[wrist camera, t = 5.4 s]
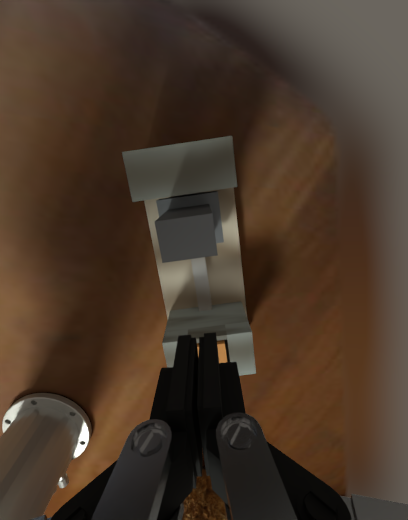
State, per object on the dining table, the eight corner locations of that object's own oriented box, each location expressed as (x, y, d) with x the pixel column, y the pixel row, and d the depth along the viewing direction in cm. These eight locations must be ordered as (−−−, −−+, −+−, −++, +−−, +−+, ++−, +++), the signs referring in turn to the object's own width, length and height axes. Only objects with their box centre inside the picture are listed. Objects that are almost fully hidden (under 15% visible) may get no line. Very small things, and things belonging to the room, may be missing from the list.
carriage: (221, 235, 30) (233, 266, 19) (169, 242, 31) (151, 277, 19) (215, 190, 29) (225, 196, 18) (161, 198, 29) (136, 209, 18)
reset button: (226, 358, 30) (228, 371, 28) (196, 362, 30) (196, 375, 28) (223, 331, 29) (224, 343, 27) (191, 335, 29) (191, 347, 27)
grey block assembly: (247, 329, 36) (260, 373, 28) (174, 338, 36) (166, 384, 28) (227, 147, 29) (238, 134, 21) (139, 160, 30) (115, 153, 22)
